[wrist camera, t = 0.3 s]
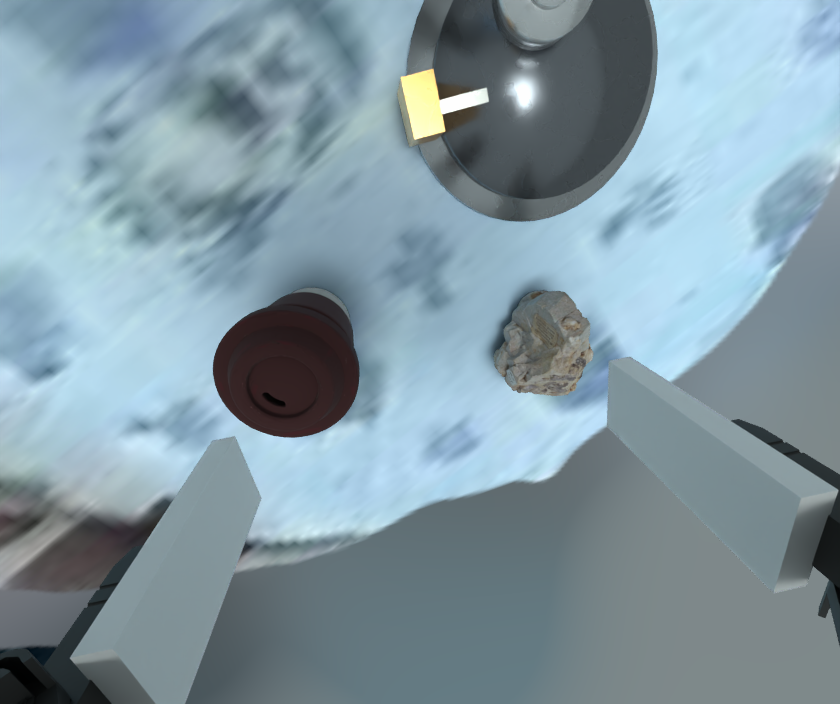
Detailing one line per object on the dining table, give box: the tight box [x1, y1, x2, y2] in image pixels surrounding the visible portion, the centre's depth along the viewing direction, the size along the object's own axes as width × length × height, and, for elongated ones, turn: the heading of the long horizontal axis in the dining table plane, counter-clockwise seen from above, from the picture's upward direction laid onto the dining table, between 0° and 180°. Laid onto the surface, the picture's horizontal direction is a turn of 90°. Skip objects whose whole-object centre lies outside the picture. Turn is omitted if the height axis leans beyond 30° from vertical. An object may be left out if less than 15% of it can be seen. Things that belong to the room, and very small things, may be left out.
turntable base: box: [407, 0, 658, 221], centre depth 34 cm, size 22×22×1 cm
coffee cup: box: [213, 288, 359, 438], centre depth 33 cm, size 10×10×15 cm
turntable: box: [397, 0, 653, 199], centre depth 31 cm, size 18×21×5 cm
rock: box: [494, 290, 593, 396], centre depth 39 cm, size 9×12×10 cm
